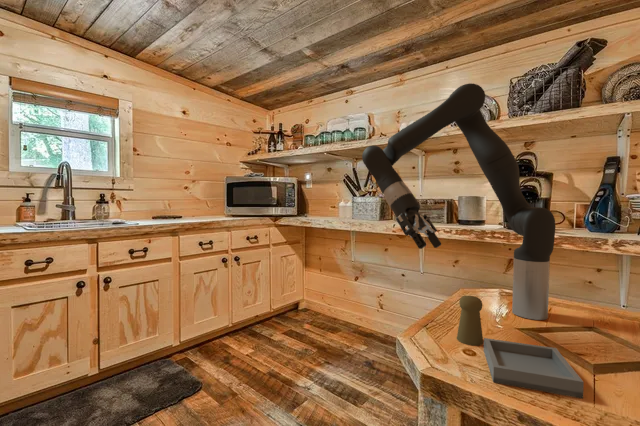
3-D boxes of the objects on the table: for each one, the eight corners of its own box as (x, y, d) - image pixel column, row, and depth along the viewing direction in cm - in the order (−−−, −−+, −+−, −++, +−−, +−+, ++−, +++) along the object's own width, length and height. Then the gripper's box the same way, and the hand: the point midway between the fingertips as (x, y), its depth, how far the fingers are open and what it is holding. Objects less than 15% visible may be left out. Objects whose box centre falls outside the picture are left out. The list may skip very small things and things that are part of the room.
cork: (486, 346, 76) (487, 301, 76) (459, 344, 77) (460, 299, 77) (479, 336, 82) (480, 294, 81) (454, 334, 83) (455, 292, 83)
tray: (483, 350, 74) (483, 337, 74) (555, 361, 69) (556, 348, 69) (493, 382, 61) (493, 366, 61) (583, 398, 56) (583, 381, 56)
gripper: (396, 190, 87) (429, 239, 80) (422, 194, 97) (453, 239, 90) (378, 206, 91) (407, 255, 84) (404, 209, 101) (433, 253, 94)
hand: (431, 246), depth 87 cm, fingers open, 8 cm apart
